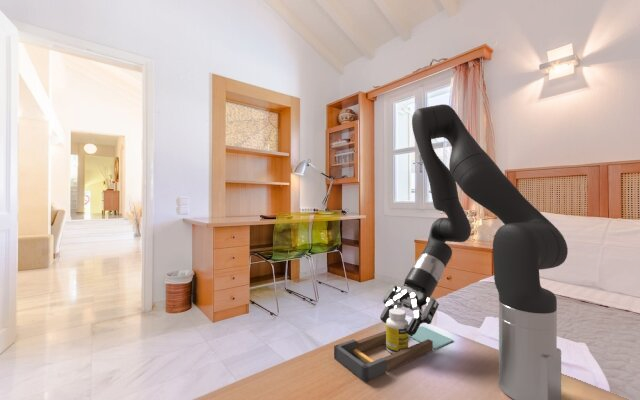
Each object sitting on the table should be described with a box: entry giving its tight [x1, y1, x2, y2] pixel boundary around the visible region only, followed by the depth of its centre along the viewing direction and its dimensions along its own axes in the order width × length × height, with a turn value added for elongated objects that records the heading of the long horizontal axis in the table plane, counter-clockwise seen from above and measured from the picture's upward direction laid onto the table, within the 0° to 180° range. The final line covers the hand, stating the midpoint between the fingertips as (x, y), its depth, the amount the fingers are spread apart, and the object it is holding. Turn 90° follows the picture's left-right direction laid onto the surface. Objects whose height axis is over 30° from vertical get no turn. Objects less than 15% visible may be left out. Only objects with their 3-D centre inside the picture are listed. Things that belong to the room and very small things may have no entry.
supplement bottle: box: [385, 308, 409, 354], centre depth 73 cm, size 5×5×10 cm
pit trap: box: [333, 338, 387, 383], centre depth 67 cm, size 11×6×3 cm, turn 33°
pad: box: [408, 325, 454, 351], centre depth 80 cm, size 10×8×1 cm
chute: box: [356, 330, 434, 373], centre depth 73 cm, size 10×16×2 cm, turn 123°
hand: (395, 327), depth 73 cm, fingers open, 8 cm apart
